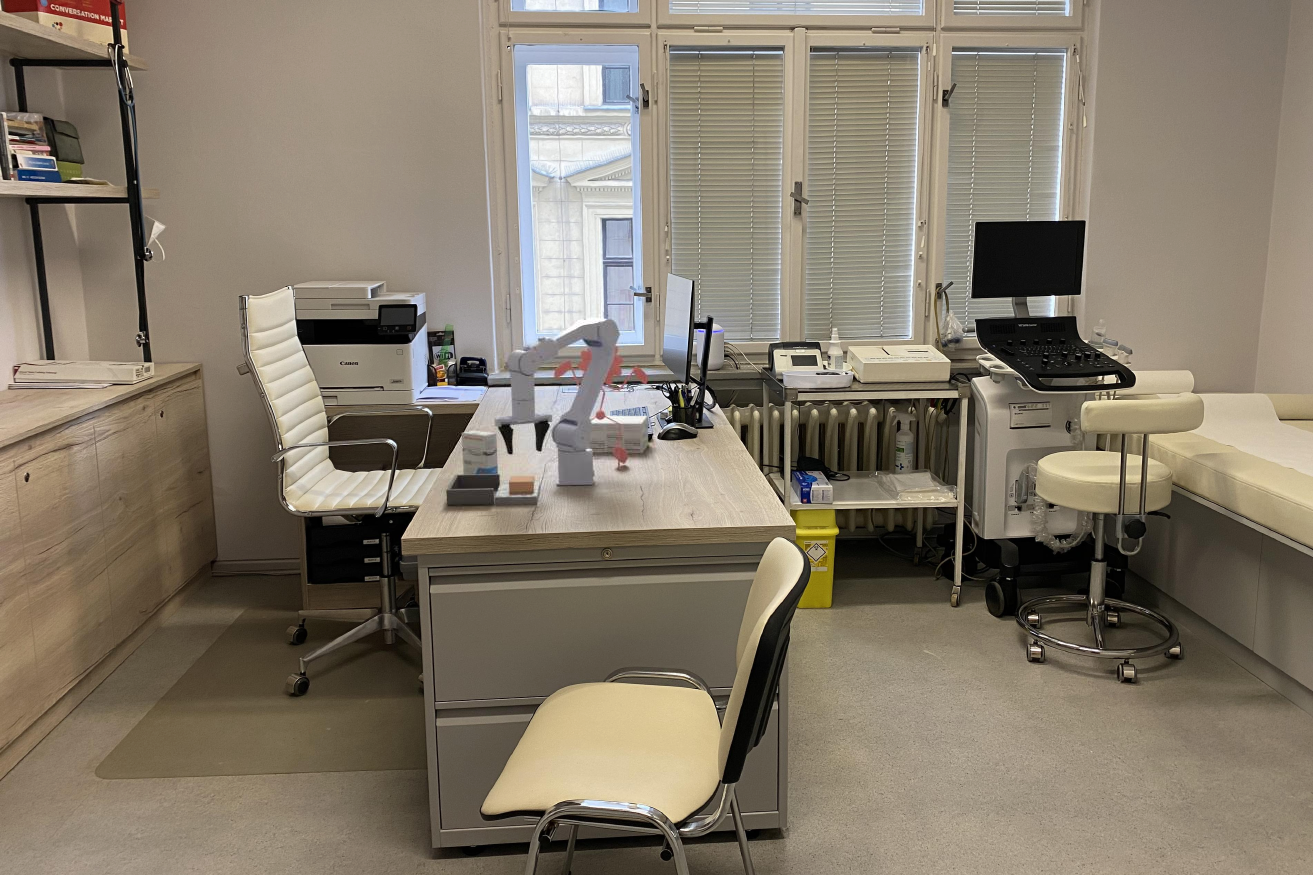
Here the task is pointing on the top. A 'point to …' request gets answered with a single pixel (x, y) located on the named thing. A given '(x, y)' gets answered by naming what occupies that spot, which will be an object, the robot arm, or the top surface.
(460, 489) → the box
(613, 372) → the figurine
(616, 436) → the supplement box
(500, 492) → the grey flat board
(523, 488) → the tile
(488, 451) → the ink box
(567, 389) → the top surface
